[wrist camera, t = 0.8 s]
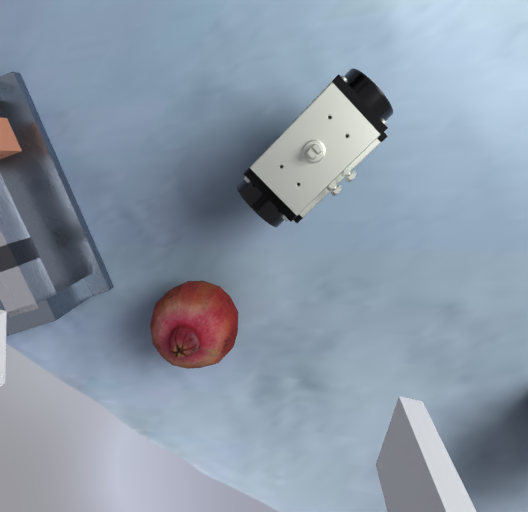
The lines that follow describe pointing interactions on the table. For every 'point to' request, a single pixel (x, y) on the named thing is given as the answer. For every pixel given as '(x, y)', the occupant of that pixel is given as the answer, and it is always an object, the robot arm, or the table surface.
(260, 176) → the pneumatic valve
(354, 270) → the table surface
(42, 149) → the grey rail frame
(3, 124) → the terracotta rectangular block
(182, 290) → the fruit
